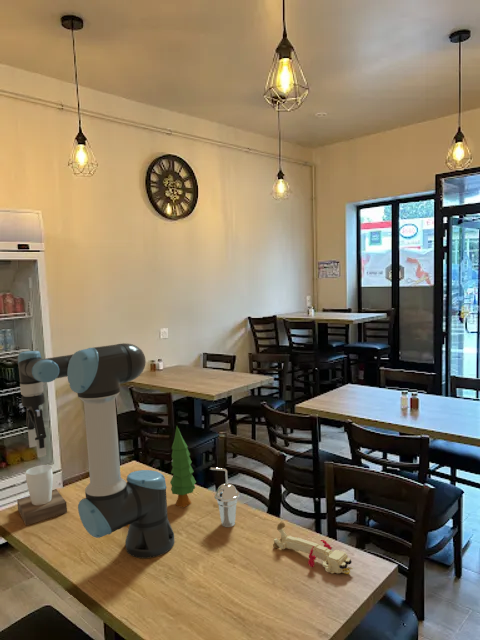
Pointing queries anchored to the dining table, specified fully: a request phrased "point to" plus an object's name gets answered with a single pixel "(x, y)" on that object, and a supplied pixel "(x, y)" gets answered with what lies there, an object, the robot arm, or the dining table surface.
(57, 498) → the riser
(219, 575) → the dining table surface
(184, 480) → the decorative tree
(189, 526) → the dining table surface
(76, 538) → the dining table surface
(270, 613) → the dining table surface
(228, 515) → the cup with straw
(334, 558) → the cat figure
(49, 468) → the cup
